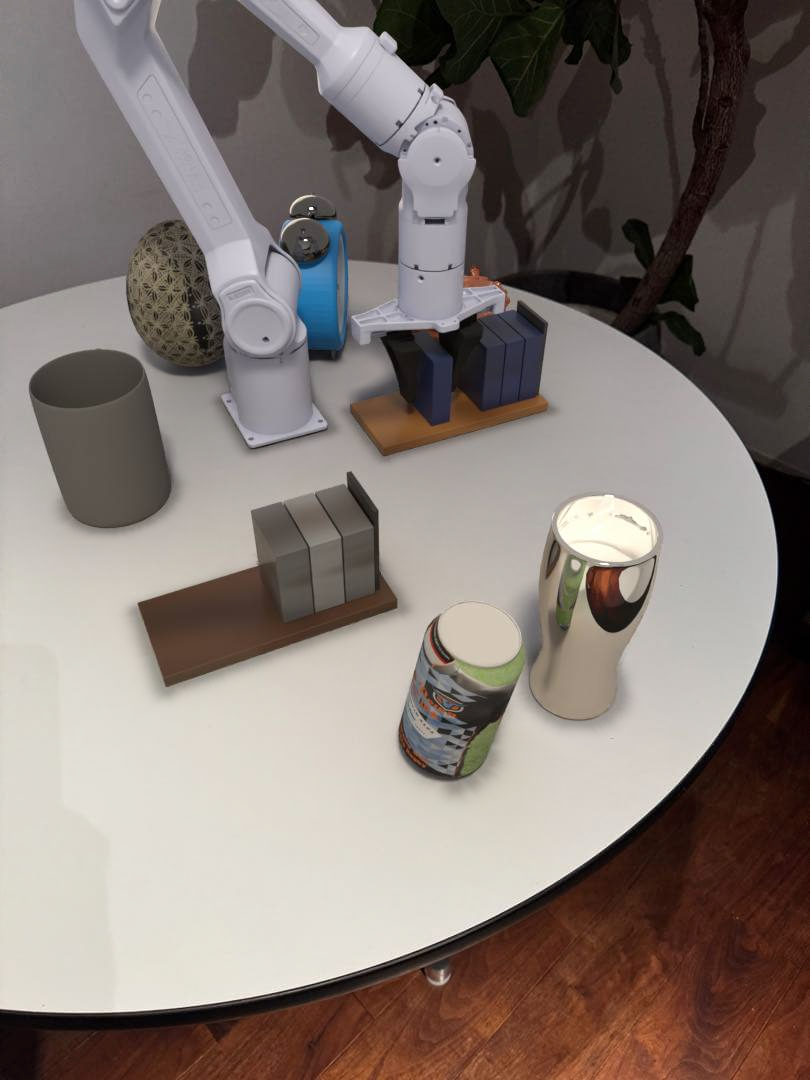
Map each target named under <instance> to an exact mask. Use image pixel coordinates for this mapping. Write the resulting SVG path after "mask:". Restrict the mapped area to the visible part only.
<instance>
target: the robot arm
mask: <svg viewBox="0 0 810 1080" xmlns="http://www.w3.org/2000/svg"><path fill="white" fill-rule="evenodd" d="M236 1H237V2H239V3H240V4H241V5H242V6H243V7H244V8H246V9H247V10H248V11H249V12H250V13H252V14H253V15H254V16H255V17H256V18H257V19H259V21H261V22H262V23H263V24H264V25H266V26H267V27H268V28H269V29H270V30H272V31H273V32H274V33H275V34H277V35H278V36H279V37H280V38H281V39H282V40H284V41H285V42H286V43H287V44H288V45H290V47H292V48H293V49H294V50H295V51H297V52H298V53H299V54H300V55H302V57H304V58H305V59H306V60H307V61H309V63H311V64H312V65H313V66H314V68H315V70H316V78H317V87H318V93H319V94H320V96H321V97H323V99H325V100H326V101H327V102H328V103H329V104H330V105H331V106H332V107H334V108H335V109H336V110H337V111H338V112H339V113H340V114H342V116H343V117H345V118H346V119H347V121H349V122H350V123H351V124H353V126H354V127H356V128H357V129H358V130H359V131H360V132H361V133H362V134H363V135H365V136H366V137H367V138H368V139H369V140H370V141H371V142H372V143H374V145H376V146H377V147H378V149H380V150H381V151H382V152H385V153H387V154H390V155H393V156H394V157H396V158H398V159H397V167H398V172H399V174H400V177H401V198H400V200H399V203H398V255H397V256H398V261H397V262H398V263H397V264H398V267H397V269H398V270H397V271H398V273H397V277H398V278H397V281H398V283H397V285H398V287H397V288H398V289H397V293H398V294H397V297H395V298H394V299H391V300H390V301H389V300H388V301H387V302H385V303H383V304H380V305H378V306H376V307H374V308H371V309H369V310H368V311H365V312H362V313H358V314H355V315H352V316H351V317H350V318H351V319H350V321H351V323H350V324H351V336H352V337H353V339H354V340H355V342H356V343H357V344H358V345H359V346H366V345H369V344H371V343H372V340H373V339H378V338H379V340H380V342H381V344H382V345H383V347H384V350H385V351H386V353H387V355H388V357H389V360H390V363H391V365H392V368H393V371H394V373H395V377H396V382H397V385H398V392H400V394H401V396H402V397H403V398H404V399H405V400H406V401H407V403H413V402H415V400H416V391H417V369H418V364H419V360H420V356H421V353H422V350H423V349H422V348H421V347H420V346H419V345H418V344H417V343H416V342H415V336H414V335H412V330H421V329H436V330H437V331H438V335H439V344H440V345H441V346H442V347H443V348H444V349H445V350H446V351H447V352H448V353H449V354H450V355H451V356H452V357H453V369H452V388H451V392H454V391H455V389H456V386H457V383H458V380H459V377H460V374H461V372H462V369H463V367H464V365H465V362H466V360H467V358H468V357H469V355H470V353H471V352H472V350H473V349H474V347H475V346H476V344H477V343H478V342H479V341H480V340H481V338H482V336H483V326H482V324H480V323H479V322H478V321H477V315H478V314H483V313H487V312H492V313H493V314H499V313H503V312H504V305H505V293H504V292H503V291H502V290H500V289H499V288H498V287H497V286H496V285H492V286H485V287H472V288H463V279H464V277H465V263H466V261H465V260H466V247H467V246H466V244H467V230H468V228H467V227H468V214H469V213H468V212H469V207H468V203H467V201H466V200H467V196H468V192H469V182H470V180H471V178H472V177H473V175H474V172H475V169H476V164H477V159H476V158H475V157H474V156H475V154H474V146H473V142H472V138H471V134H470V129H469V125H468V122H467V119H466V117H465V116H464V114H463V113H462V112H461V110H460V109H459V107H458V106H457V104H456V101H455V100H454V99H453V98H451V97H449V96H447V95H444V91H443V90H442V89H441V87H439V85H438V84H436V83H433V84H431V85H430V86H429V85H428V84H427V83H426V82H425V81H424V80H423V79H422V78H421V77H420V76H418V74H417V73H416V72H414V70H413V69H411V67H409V65H407V64H406V62H404V61H403V60H402V59H401V58H400V57H399V56H398V55H397V54H396V52H397V50H398V43H397V41H396V40H395V39H394V38H393V37H392V36H391V35H390V34H389V33H388V32H387V31H383V32H382V33H381V35H380V36H378V35H377V33H375V32H374V31H373V30H372V29H371V28H370V27H368V26H353V27H351V26H350V27H348V26H342V25H341V24H339V23H338V22H337V21H336V20H335V19H334V17H332V16H331V14H330V13H329V12H328V11H327V10H326V9H325V8H324V7H323V6H322V5H321V4H320V3H319V2H318V1H317V0H236ZM161 2H162V0H73V7H74V21H75V23H74V24H75V29H76V32H77V35H78V37H79V40H80V42H81V45H82V46H83V48H84V49H85V51H86V53H87V55H88V57H89V58H90V60H91V62H92V63H93V65H94V67H95V69H96V70H97V72H98V74H99V75H100V77H101V79H102V80H103V82H104V84H105V86H106V87H107V89H108V91H109V92H110V95H111V96H112V98H113V100H114V101H115V103H116V105H117V106H118V108H119V110H120V112H121V114H122V115H123V117H124V118H125V120H126V122H127V125H129V127H130V129H131V131H132V133H133V134H134V136H135V138H136V139H137V141H138V143H139V144H140V146H141V149H142V150H143V152H144V153H145V155H146V157H147V159H148V161H149V162H150V164H151V166H152V167H153V169H154V171H155V173H156V174H157V176H158V178H159V180H160V181H161V182H162V184H163V187H164V188H165V191H167V193H168V195H169V196H170V199H171V200H172V202H173V204H174V206H175V207H176V209H177V211H178V212H179V214H180V216H181V217H182V220H184V221H185V223H186V224H187V226H188V228H189V230H190V231H191V233H192V235H193V236H194V238H195V240H196V242H197V243H198V245H199V247H200V249H201V250H202V252H203V254H204V256H205V260H206V265H207V270H208V275H209V281H210V286H211V290H212V293H213V295H214V297H215V298H216V300H217V302H218V304H219V306H220V309H221V315H222V328H223V331H224V334H225V335H224V340H223V347H224V354H225V355H224V360H225V368H226V374H227V379H228V381H227V382H228V387H229V392H227V393H224V394H223V393H222V395H221V396H220V398H221V402H222V403H223V405H224V408H225V409H226V411H227V412H228V414H229V416H230V418H231V419H232V421H233V423H234V425H235V426H236V428H237V430H238V432H239V433H240V435H241V436H242V438H243V440H244V441H245V443H246V445H247V447H248V448H250V449H256V448H259V447H263V446H267V445H270V444H271V445H272V444H274V443H278V442H282V441H287V440H290V439H293V438H298V437H302V436H305V435H309V434H313V433H317V432H320V431H324V430H326V429H328V427H329V424H328V422H327V420H326V419H325V417H324V416H323V415H322V412H321V411H320V410H319V409H318V408H317V406H316V405H315V403H314V402H313V398H312V397H313V396H312V385H311V371H310V358H309V349H308V343H307V329H306V327H305V325H304V323H303V322H302V321H301V319H300V318H299V316H298V315H297V306H298V299H299V295H300V293H301V288H302V275H301V271H300V269H299V267H298V265H297V263H296V262H295V260H294V259H293V258H292V257H291V256H290V255H288V254H287V253H286V252H284V251H283V250H282V249H281V248H280V247H279V244H277V243H276V242H275V240H274V238H273V237H272V234H271V233H270V231H269V229H268V228H267V227H265V226H264V225H262V224H261V223H259V222H258V221H256V219H255V218H254V216H253V214H252V212H251V210H250V208H249V207H248V205H247V202H246V200H245V199H244V197H243V195H242V193H241V190H240V188H239V187H238V185H237V183H236V181H235V180H234V177H233V175H232V174H231V172H230V170H229V168H228V166H227V164H226V162H225V160H224V158H223V156H222V154H221V152H220V151H219V149H218V147H217V145H216V143H215V141H214V138H213V137H212V135H211V133H210V131H209V130H208V128H207V126H206V124H205V122H204V119H203V118H202V116H201V114H200V112H199V110H198V108H197V107H196V104H195V103H194V100H193V99H192V97H191V95H190V93H189V91H188V89H187V87H186V84H185V83H184V81H183V80H182V78H181V76H180V73H179V72H178V70H177V68H176V66H175V64H174V62H173V60H172V59H171V56H170V54H169V53H168V51H167V49H166V47H165V44H164V42H163V40H162V39H161V37H160V35H159V33H158V31H157V29H156V20H157V16H158V13H159V9H160V6H161Z"/></svg>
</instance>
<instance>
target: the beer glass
mask: <svg viewBox="0 0 810 1080" xmlns="http://www.w3.org/2000/svg"><path fill="white" fill-rule="evenodd" d="M663 542H664V530H663V526H662V524H661V522H660V520H659V519H658V518H657V516H656V515H655V514H654V513H653V512H652V511H651V510H650V509H649V508H648V507H646V506H645V505H643V504H642V503H640V502H639V501H637V500H635V499H632V498H630V497H627V496H624V495H622V494H616V493H612V492H603V491H602V492H601V491H595V492H594V491H593V492H584V493H580V494H577V495H574V496H573V495H572V496H571V497H569V498H567V499H565V500H564V501H562V502H561V503H559V505H558V506H556V508H555V510H554V511H553V513H552V516H551V521H550V527H549V530H548V534H547V537H546V540H545V544H544V547H543V552H542V556H541V562H540V568H539V575H538V576H539V577H538V587H537V588H538V589H537V590H538V591H537V593H538V596H537V597H538V598H537V599H538V601H537V602H538V613H539V614H538V615H539V624H540V638H541V640H540V647H539V651H538V653H537V655H536V658H535V660H534V662H533V663H532V666H531V669H530V673H529V687H530V690H531V693H532V695H533V697H534V699H535V700H536V701H537V702H538V703H539V705H540V706H541V707H543V708H544V709H546V710H547V712H549V713H552V715H556V716H558V717H560V718H564V719H568V720H574V721H575V720H576V721H583V720H590V719H594V718H596V717H599V716H600V715H602V714H604V713H605V712H607V711H608V710H609V709H610V707H611V706H612V705H613V704H614V702H615V699H616V696H617V691H618V677H617V675H618V666H619V663H620V660H621V657H622V656H623V653H624V652H625V650H626V648H627V646H628V645H629V644H630V641H631V640H632V638H633V637H634V635H635V633H636V631H637V630H638V628H639V626H640V624H641V622H642V620H643V618H644V615H645V613H646V611H647V609H648V606H649V603H650V600H651V597H652V595H653V591H654V587H655V583H656V579H657V578H656V577H657V574H658V568H659V562H660V554H661V549H662V545H663Z"/></svg>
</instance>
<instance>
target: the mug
mask: <svg viewBox="0 0 810 1080" xmlns="http://www.w3.org/2000/svg"><path fill="white" fill-rule="evenodd" d="M28 393H29V399H30V402H31V406H32V409H33V413H34V416H35V419H36V423H37V426H38V429H39V432H40V435H41V438H42V441H43V444H44V447H45V450H46V453H47V457H48V460H49V462H50V465H51V467H52V468H51V469H52V472H53V474H54V477H55V480H56V483H57V485H58V488H59V492H60V494H61V496H62V499H63V502H64V504H65V506H66V508H67V510H68V511H69V513H70V514H71V515H72V516H73V517H74V518H75V519H76V520H78V521H79V522H80V523H83V524H85V525H88V526H92V527H98V528H118V527H123V526H129V525H132V524H135V523H137V522H141V521H143V520H145V519H147V518H149V517H151V516H152V515H153V514H155V513H156V512H157V511H159V509H161V508H162V507H163V506H164V505H165V503H166V501H167V499H168V498H169V495H170V490H171V481H170V474H169V473H170V472H169V466H168V461H167V457H166V452H165V448H164V442H163V437H162V433H161V429H160V424H159V420H158V416H157V411H156V407H155V406H156V405H155V403H154V399H153V394H152V389H151V386H150V381H149V379H148V375H147V372H146V369H145V366H144V364H142V362H141V361H140V360H139V359H138V358H137V357H135V356H134V355H132V354H130V353H127V352H125V351H120V350H115V349H109V348H107V349H106V348H105V349H103V348H95V349H84V350H79V351H74V352H71V353H67V354H63V355H61V356H58V357H56V358H53V359H52V360H50V361H48V362H46V363H44V364H43V365H41V366H40V367H39V368H38V369H36V371H35V372H34V373H33V374H32V375H31V377H30V379H29V382H28Z"/></svg>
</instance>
